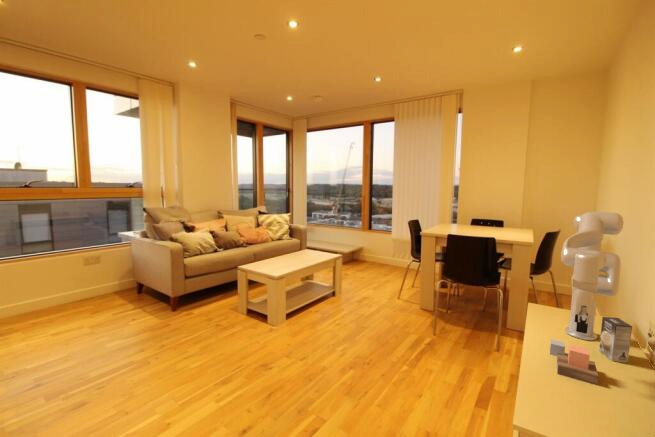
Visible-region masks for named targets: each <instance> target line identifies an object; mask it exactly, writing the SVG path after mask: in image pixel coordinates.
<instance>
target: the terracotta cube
mask: <svg viewBox="0 0 655 437" xmlns="http://www.w3.org/2000/svg"><path fill="white" fill-rule="evenodd" d="M567 355H568V365H571V366H575V367H579V368H582V369H586V370H588V366H589V361H590V356H591V355H590V351H589V348H587V347H584V346H583V347H582V346H578V345H575V344H570V343H569V345H568V354H567Z"/></svg>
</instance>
